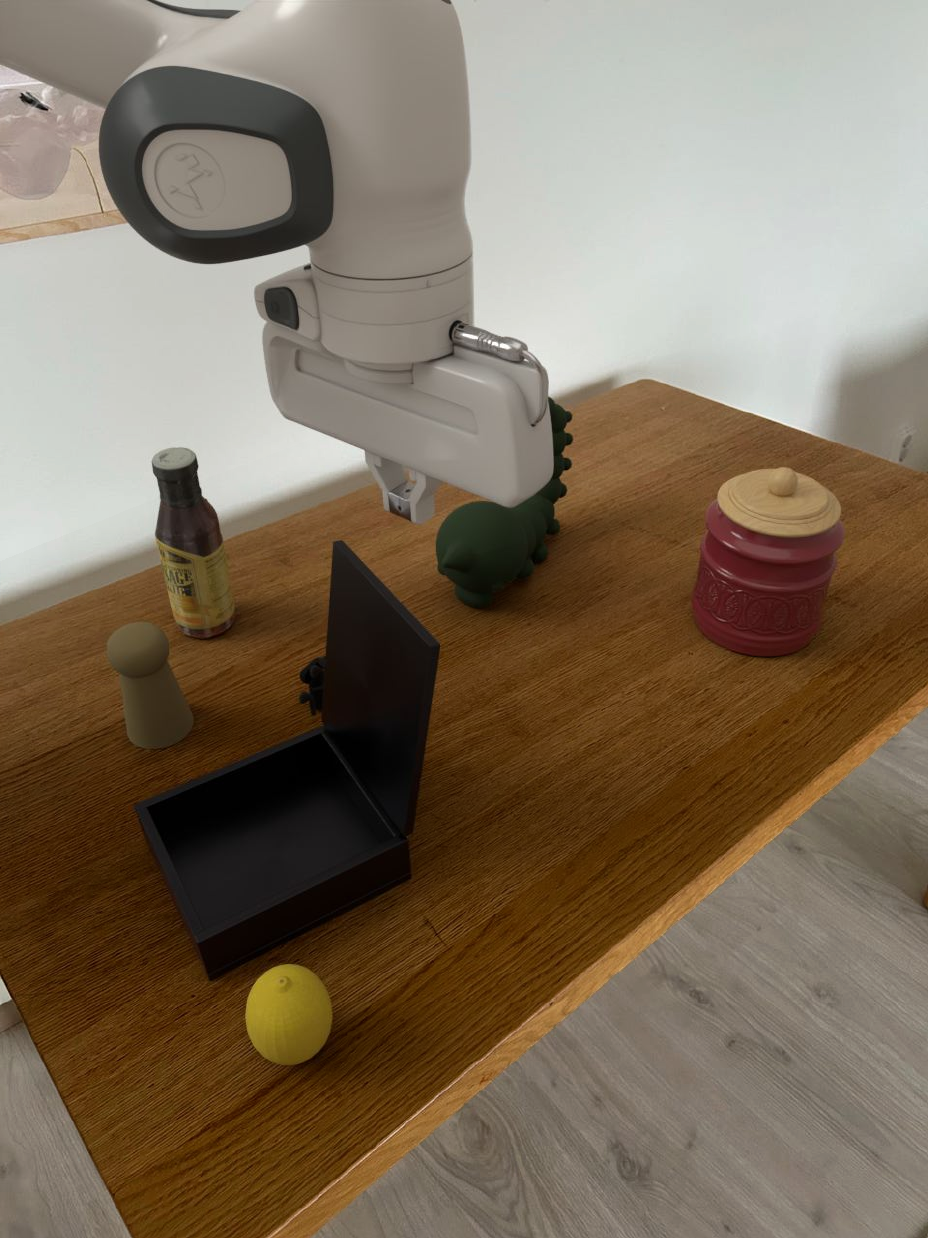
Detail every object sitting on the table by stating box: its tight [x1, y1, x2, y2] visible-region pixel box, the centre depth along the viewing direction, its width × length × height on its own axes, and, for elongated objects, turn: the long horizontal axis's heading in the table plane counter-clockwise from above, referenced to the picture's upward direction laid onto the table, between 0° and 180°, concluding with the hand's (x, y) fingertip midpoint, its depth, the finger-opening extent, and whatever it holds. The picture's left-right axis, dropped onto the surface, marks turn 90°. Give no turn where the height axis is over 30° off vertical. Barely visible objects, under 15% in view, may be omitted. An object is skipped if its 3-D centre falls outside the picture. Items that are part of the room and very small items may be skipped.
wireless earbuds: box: [298, 655, 325, 717], centre depth 91 cm, size 7×2×5 cm, turn 149°
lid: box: [320, 539, 442, 837], centre depth 74 cm, size 18×15×1 cm
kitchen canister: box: [691, 466, 846, 657], centre depth 96 cm, size 13×13×18 cm
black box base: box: [133, 724, 412, 982], centre depth 77 cm, size 17×15×5 cm
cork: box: [106, 621, 195, 750], centre depth 87 cm, size 6×6×11 cm
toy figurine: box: [435, 395, 574, 609], centre depth 103 cm, size 9×19×25 cm
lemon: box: [244, 963, 334, 1066], centre depth 64 cm, size 6×6×8 cm
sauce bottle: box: [151, 446, 236, 640], centre depth 96 cm, size 6×6×20 cm
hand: (409, 514), depth 63 cm, fingers closed
